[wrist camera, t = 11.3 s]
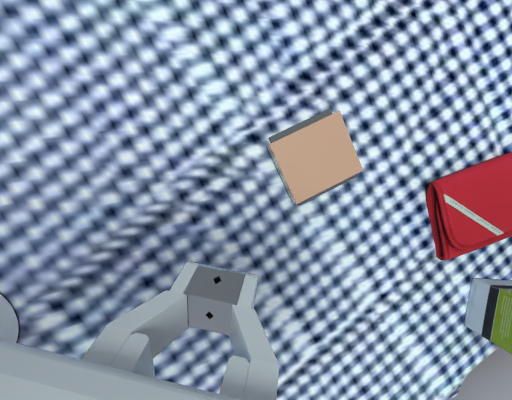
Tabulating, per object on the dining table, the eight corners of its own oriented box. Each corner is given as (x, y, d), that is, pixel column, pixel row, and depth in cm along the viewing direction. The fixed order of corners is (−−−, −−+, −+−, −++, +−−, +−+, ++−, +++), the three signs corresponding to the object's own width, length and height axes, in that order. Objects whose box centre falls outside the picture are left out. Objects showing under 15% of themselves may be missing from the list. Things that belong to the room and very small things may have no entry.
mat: (298, 205, 43) (299, 205, 43) (268, 137, 42) (269, 137, 41) (355, 176, 44) (357, 176, 44) (328, 109, 43) (329, 108, 42)
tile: (296, 204, 40) (363, 170, 41) (269, 144, 39) (339, 110, 40) (292, 202, 43) (355, 170, 44) (266, 145, 41) (332, 114, 42)
